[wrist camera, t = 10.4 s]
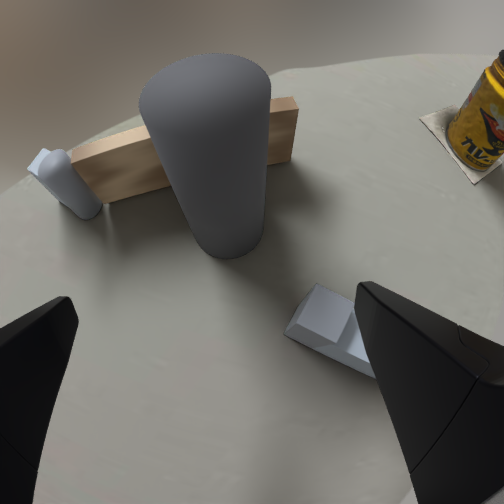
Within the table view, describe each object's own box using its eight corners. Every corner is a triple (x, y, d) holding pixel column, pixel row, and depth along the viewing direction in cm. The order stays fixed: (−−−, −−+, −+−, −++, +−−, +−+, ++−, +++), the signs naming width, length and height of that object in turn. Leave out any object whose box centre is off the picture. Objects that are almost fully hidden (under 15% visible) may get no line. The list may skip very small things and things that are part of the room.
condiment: (473, 185, 23) (546, 104, 11) (418, 118, 25) (466, 26, 14) (501, 163, 24) (561, 95, 12) (453, 106, 26) (497, 30, 15)
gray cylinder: (278, 225, 21) (299, 87, 10) (227, 273, 20) (193, 161, 9) (229, 183, 22) (211, 42, 11) (179, 226, 21) (116, 98, 10)
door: (103, 204, 21) (70, 163, 16) (104, 180, 22) (74, 138, 17) (290, 160, 22) (298, 108, 17) (282, 139, 23) (287, 86, 18)
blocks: (398, 352, 18) (448, 346, 12) (383, 386, 17) (430, 392, 12) (73, 179, 23) (39, 138, 17) (56, 202, 22) (18, 164, 16)
